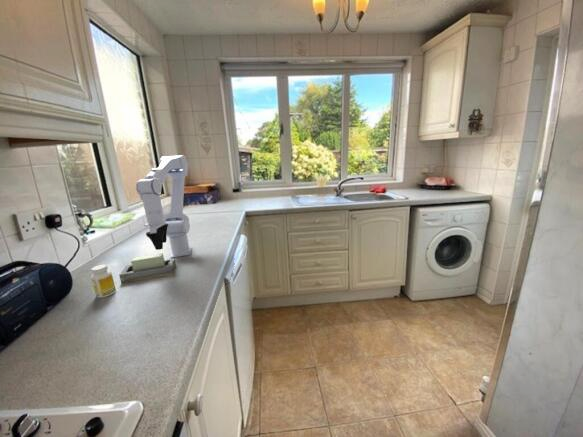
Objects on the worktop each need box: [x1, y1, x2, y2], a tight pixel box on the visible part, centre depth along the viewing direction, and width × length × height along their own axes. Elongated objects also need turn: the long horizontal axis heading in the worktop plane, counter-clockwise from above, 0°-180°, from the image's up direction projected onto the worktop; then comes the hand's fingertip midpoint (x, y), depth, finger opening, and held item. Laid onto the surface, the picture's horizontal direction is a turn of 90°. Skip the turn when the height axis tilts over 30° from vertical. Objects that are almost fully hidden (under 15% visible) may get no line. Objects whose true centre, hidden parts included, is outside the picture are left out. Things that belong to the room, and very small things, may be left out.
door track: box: [119, 257, 177, 284], centre depth 95 cm, size 8×17×3 cm, turn 106°
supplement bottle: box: [90, 264, 117, 299], centre depth 82 cm, size 5×5×10 cm
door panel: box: [130, 253, 165, 271], centre depth 94 cm, size 3×10×6 cm, turn 107°
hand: (161, 245), depth 97 cm, fingers open, 7 cm apart
